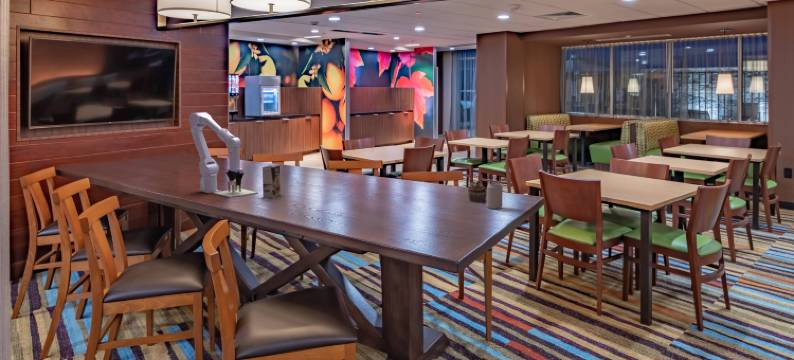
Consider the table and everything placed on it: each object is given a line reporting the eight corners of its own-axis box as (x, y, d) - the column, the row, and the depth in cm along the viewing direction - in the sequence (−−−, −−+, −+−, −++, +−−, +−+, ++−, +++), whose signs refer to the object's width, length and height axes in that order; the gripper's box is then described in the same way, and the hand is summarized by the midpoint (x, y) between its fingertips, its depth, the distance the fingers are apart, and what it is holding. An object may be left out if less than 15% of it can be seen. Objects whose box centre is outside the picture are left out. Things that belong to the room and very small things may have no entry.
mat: (213, 193, 305) (213, 192, 305) (241, 189, 318) (241, 188, 317) (229, 197, 294) (229, 196, 294) (257, 193, 306) (257, 192, 306)
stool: (227, 191, 305) (227, 181, 304) (236, 190, 309) (236, 180, 308) (232, 192, 301) (232, 182, 300) (241, 191, 305) (241, 181, 304)
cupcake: (475, 203, 280) (475, 183, 279) (464, 200, 289) (464, 181, 287) (490, 201, 285) (491, 182, 283) (479, 198, 293) (480, 179, 292)
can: (490, 205, 275) (491, 181, 273) (504, 207, 270) (505, 183, 268) (483, 208, 268) (484, 183, 267) (498, 210, 264) (498, 185, 262)
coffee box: (274, 197, 294) (273, 167, 291) (262, 197, 295) (261, 167, 292) (281, 194, 302) (280, 165, 300) (270, 194, 304) (269, 164, 301)
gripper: (220, 159, 305) (221, 184, 307) (234, 161, 295) (235, 187, 297) (232, 158, 310) (233, 182, 312) (246, 160, 300) (247, 185, 302)
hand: (235, 184), depth 305 cm, fingers closed on stool, 5 cm apart
